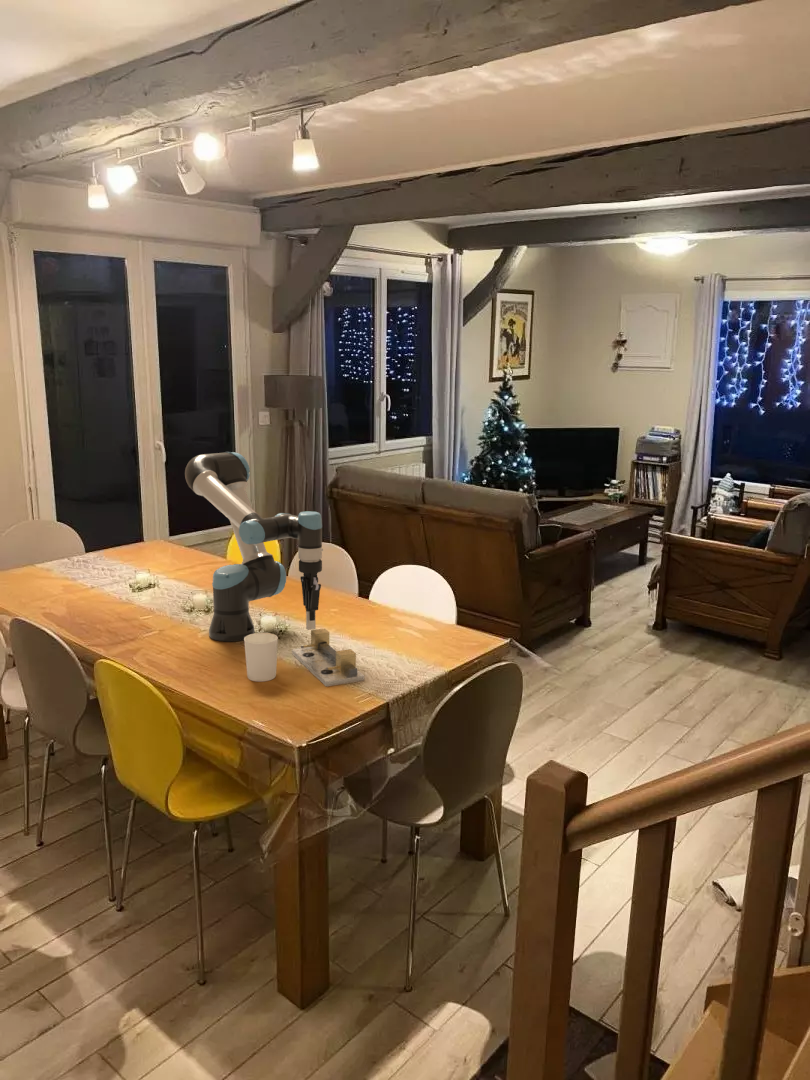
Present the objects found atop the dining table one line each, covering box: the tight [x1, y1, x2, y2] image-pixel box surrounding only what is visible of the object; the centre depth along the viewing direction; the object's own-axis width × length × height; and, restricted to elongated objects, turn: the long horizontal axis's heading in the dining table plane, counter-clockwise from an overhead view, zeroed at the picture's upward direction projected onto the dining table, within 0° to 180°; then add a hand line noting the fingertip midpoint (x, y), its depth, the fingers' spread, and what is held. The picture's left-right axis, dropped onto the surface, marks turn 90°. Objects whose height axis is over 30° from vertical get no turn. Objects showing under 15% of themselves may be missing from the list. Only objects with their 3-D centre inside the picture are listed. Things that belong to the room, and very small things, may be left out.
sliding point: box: [300, 628, 330, 649], centre depth 263 cm, size 9×4×5 cm, turn 116°
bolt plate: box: [291, 642, 365, 687], centre depth 251 cm, size 12×30×7 cm, turn 26°
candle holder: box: [243, 632, 279, 683], centre depth 242 cm, size 10×10×12 cm
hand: (310, 628), depth 272 cm, fingers closed
